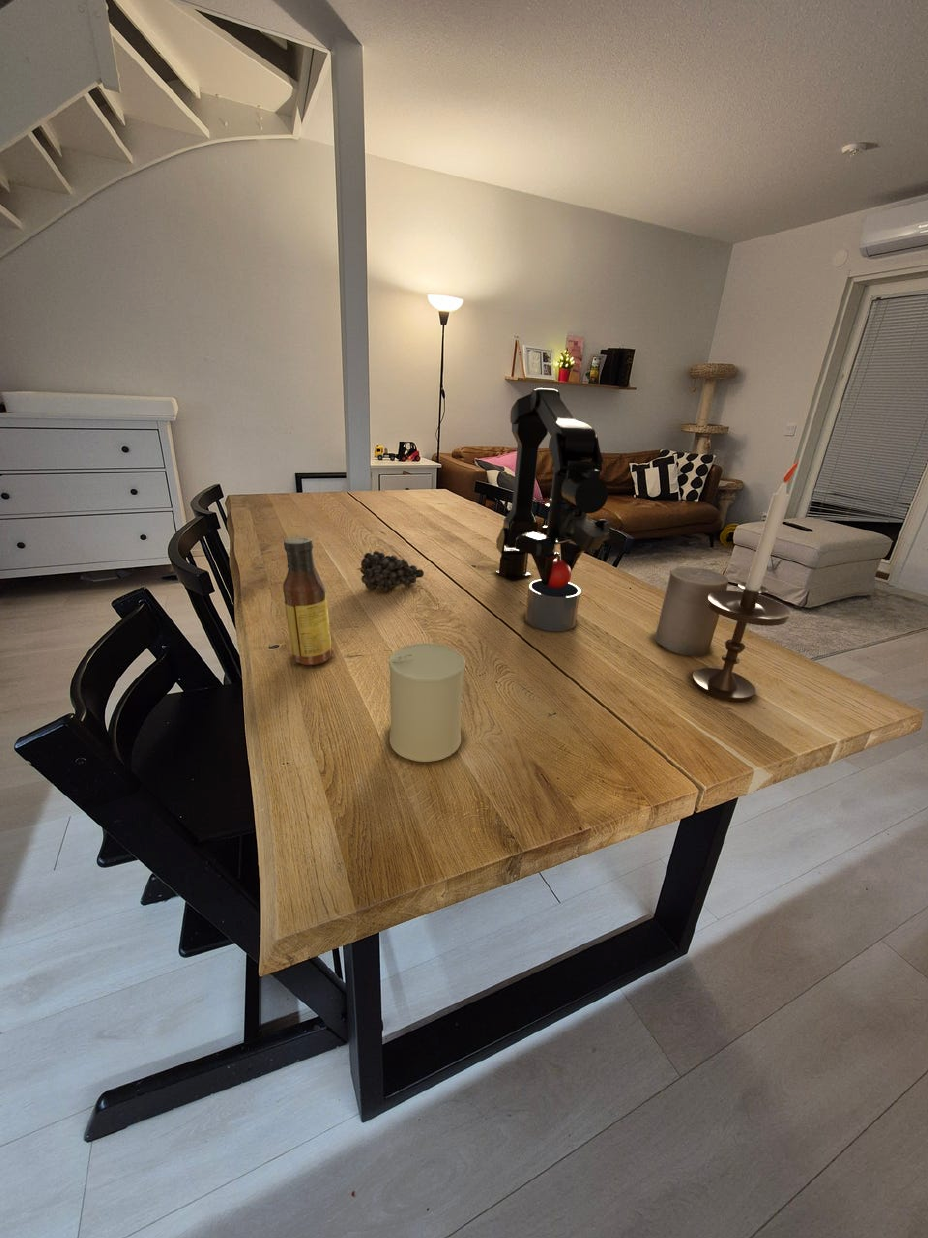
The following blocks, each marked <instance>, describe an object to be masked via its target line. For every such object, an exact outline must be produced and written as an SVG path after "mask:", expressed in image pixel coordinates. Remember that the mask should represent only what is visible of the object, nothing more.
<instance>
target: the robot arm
mask: <svg viewBox="0 0 928 1238" xmlns="http://www.w3.org/2000/svg"><path fill="white" fill-rule="evenodd" d="M560 393H561V392H560V391H559V390H557V389H555V388H545V387H544V388H543V387H536V389H535V388H534V389H533V390H531V392H530V393H529V394H526V395H524V396H522V397H519V398H518V399H517V400H515V402H514V403H513V406H512V407H511V410H510V415H509V418H510V423H511V432H512V435H513V437H514V439H515V441H516V443H517V446H516V447H517V448H516V460H515V469H514V481H513V492H512V503H511V504H512V505H511V509H510V510H509V512H508V514H507V515H505V518H504V519H503V524H502V528H500V531H499V534H498V535H497V537H496V540H495V541H496V543H495V546H496V550H497V551H498V552H499V553H500V557H499V566H498V570H495V572H494V573H495V574H497V575H499V576H502V577H504V578H506V579H509V580H511V581H515V580H519V579H523V578H528V577H531V575H532V574H531V573H530V572H527V569H528V568H527V567H528V558H529V555H530V556H531V557H532V559H533V562H534V563H535V566H536V569H537V571H538V574H539V578H540V580H542V583H543V584H544V585H548V583H549V580H550V575H551V570H552V565H553V560H556V559H557V557H558V556H560V560H562V561H564V562H566V563H567V564H568V565H569V567H570V569H571V573H572V572H573V570H574V568H575V566H576V564H577V562H578V561H579V558H580V556H581V554H583V553H585V552H587V553H588V552H591V551H593V550H600V548H601V546H602V544H603V542H604V541H607V540H609V539H610V532H611V521H609V520H608V519H606V518H603V519H602V518H601V519H598V520H597V521H596V520H593V519H591V520H590V519H588V517H587V514H594V513H598V512H599V511H601V510H602V509H603V508H604V507H605V505H606V503H607V501H608V498H609V491H608V490H609V489H608V486H607V484H606V483H605V481H604V480H602V479H601V472H602V471H603V463H604V458H603V455H602V452H601V447H600V444H599V443H600V442H599V437H598V435H597V433H596V431H595V429H594V428H593V427H592V426H590V425H589V424H588V423H586V422H582V421H579V420H577V419H576V418H575V417H574V416H573V415H572V413H571V412H570V410H569V409H568V407H567V405H566V404H565V402H564V401H563V400H562V398H561V394H560ZM548 434H549V435H550V438H549V442H548V443H549V444H548V448H549V454H550V457H551V460H552V464H553V465H552V467H551V471H552V472H553V475H552V481H551V490H550V498H549V503H545V504H544V507H543V510H544V511H545V512H548V513H547V522H546V525H544V526H541V533H539V530H538V528H539V524H538V521H537V520H536V519H535V516H534V514H533V503H534V494H535V485H536V476H537V468H538V458H539V449H540V446H541V444H542V443H543V441H544V440H545V439H546V437H547V436H548ZM542 533H544V534H542ZM545 534H546V535H545ZM557 545H559V551H560V553H559V552H556V547H557Z"/></svg>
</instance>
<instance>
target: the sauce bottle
mask: <svg viewBox="0 0 928 1238" xmlns="http://www.w3.org/2000/svg"><path fill="white" fill-rule="evenodd" d="M313 543H314V542H313V539H312V538H310V537H308V536H293V537H288V538H286V539H284V540H283V547H284V551H285V552H286V558H287V559H286V560H287V568H288V571H287V574H286V577H285V579H284V581H283V585H282V589H283V594H284V606H285V607H284V608H285V614H286V615H285V616H286V620H287V628H288V633H289V642H290V648H291V653H292V657H293V660H294V661H295V662H296V663H297V664H300V665H302V666H317V665H320V664H323V663H325V662H327V661H328V660H329V659H330V658H331V656H332V638H331V628H330V619H329V618H330V617H329V610H328V602H327V593H326V592H327V591H326V588H325V586H324V584H323V582H322V579H321V577H320V575H319V572H318V570H317V568H316V566H315V561H314V554H313V549H314V544H313Z"/></svg>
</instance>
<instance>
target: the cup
mask: <svg viewBox="0 0 928 1238" xmlns="http://www.w3.org/2000/svg"><path fill="white" fill-rule="evenodd" d="M527 588H528V589H527V596H526V607H525V618H524V619H525V621H526V623H527V624H529V625H530V626H532V627H534V628H536V629H540V630H543V631H548V632H549V631H550V632H565V631H570V630H572V629H574V627H575V626H576V624H577V617H578V611H579V605H580V598H581V592H582V590H581V588H580V587H579V586H578V585H576V584H575V583H572V582H569V583H568V584H567V585H566V586H564V587H562V588H558V589H554V588H551V587H549V586H547V585H544V584H543V583H542V580H541V579H536V580H533V581H531V582H529V584H528V587H527Z"/></svg>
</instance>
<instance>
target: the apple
mask: <svg viewBox="0 0 928 1238" xmlns="http://www.w3.org/2000/svg"><path fill="white" fill-rule="evenodd" d="M571 579H572V572H571V569H570V567H569V565H568V564H567V563H566V562H564V561H562V560H561V555H559V556H558V557H557V558H556V559H554V560H553V565H552V570H551V575H550V580H549V583H548V585H547V586H549V587H551V588H554V589H558V588H562V587H564V586H566V585H567V584H568V583H570V581H571Z"/></svg>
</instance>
